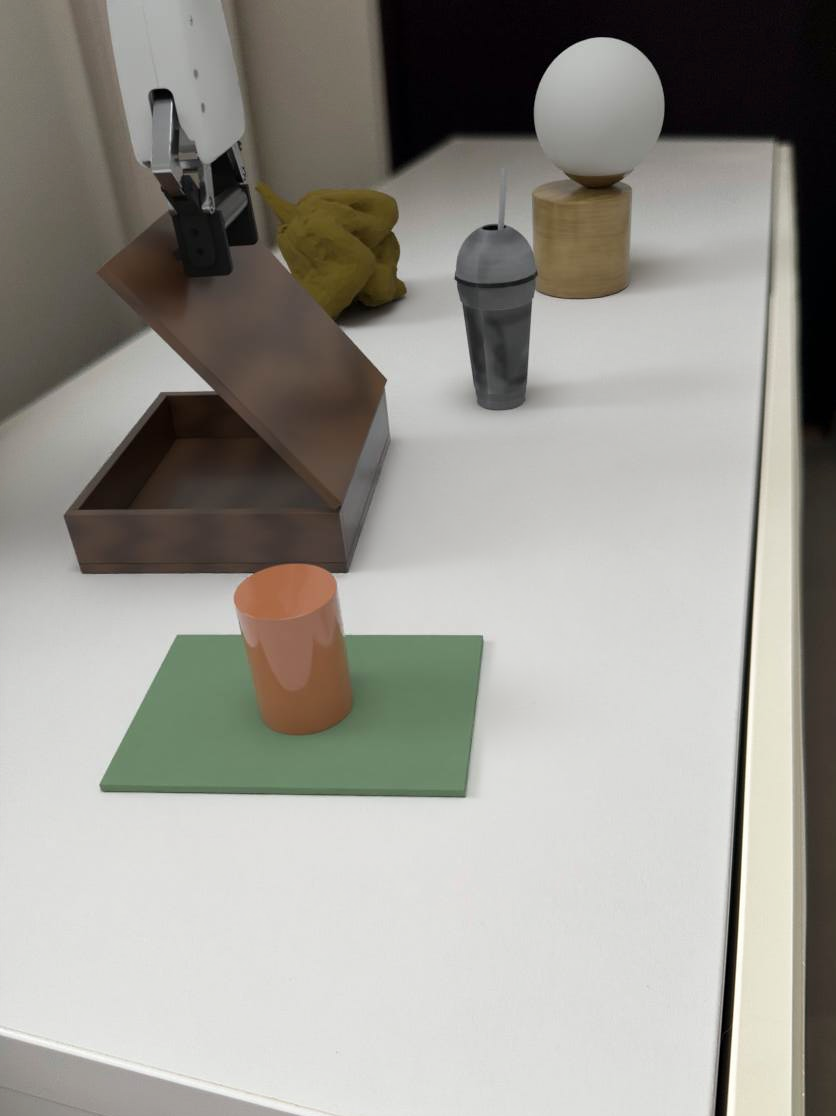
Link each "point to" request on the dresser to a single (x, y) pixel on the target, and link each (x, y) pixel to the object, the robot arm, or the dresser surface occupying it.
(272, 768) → the mat
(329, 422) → the lid
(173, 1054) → the dresser surface
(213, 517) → the chest
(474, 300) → the beverage cup
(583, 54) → the lamp
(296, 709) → the cylinder
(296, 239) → the olive lumpy blob
